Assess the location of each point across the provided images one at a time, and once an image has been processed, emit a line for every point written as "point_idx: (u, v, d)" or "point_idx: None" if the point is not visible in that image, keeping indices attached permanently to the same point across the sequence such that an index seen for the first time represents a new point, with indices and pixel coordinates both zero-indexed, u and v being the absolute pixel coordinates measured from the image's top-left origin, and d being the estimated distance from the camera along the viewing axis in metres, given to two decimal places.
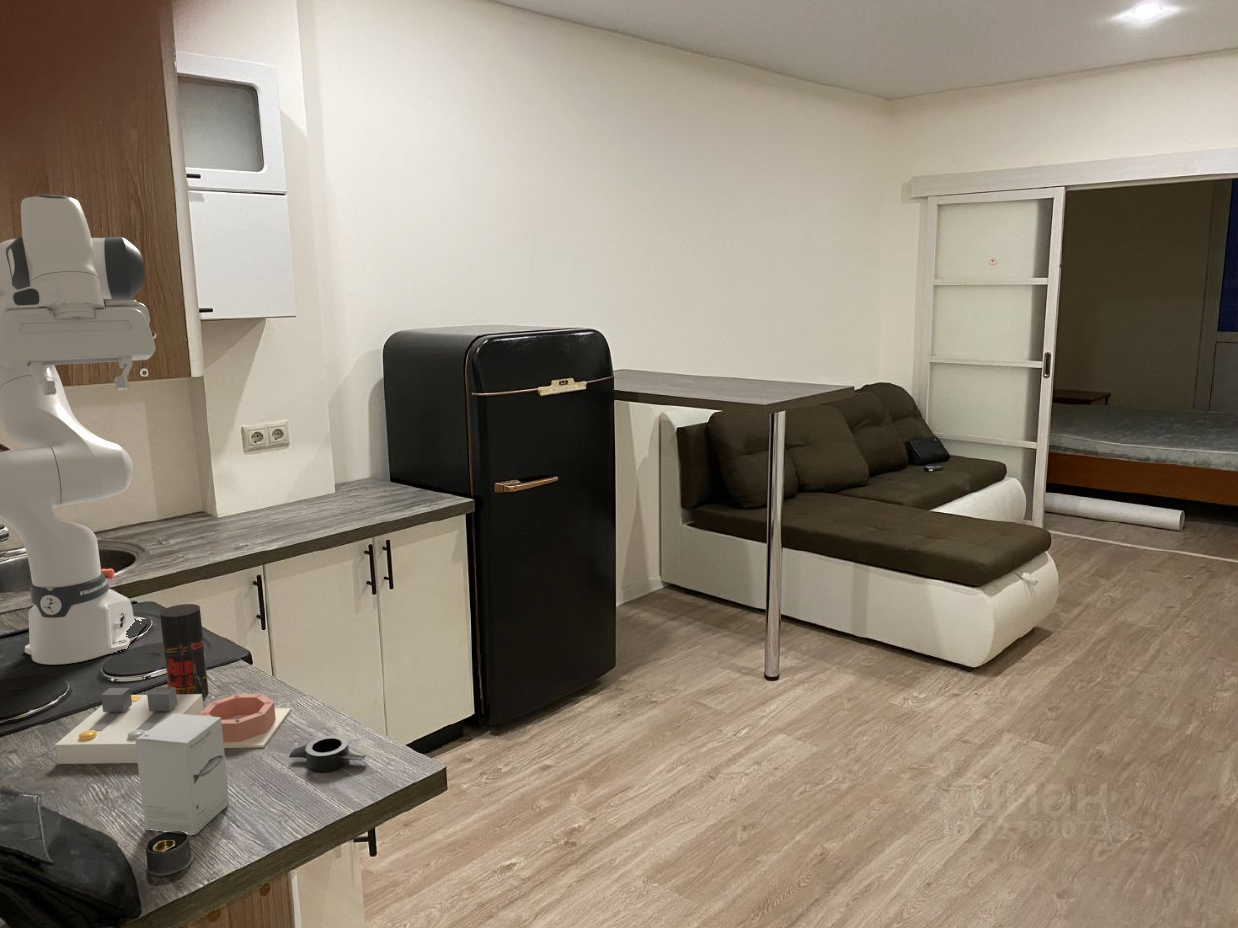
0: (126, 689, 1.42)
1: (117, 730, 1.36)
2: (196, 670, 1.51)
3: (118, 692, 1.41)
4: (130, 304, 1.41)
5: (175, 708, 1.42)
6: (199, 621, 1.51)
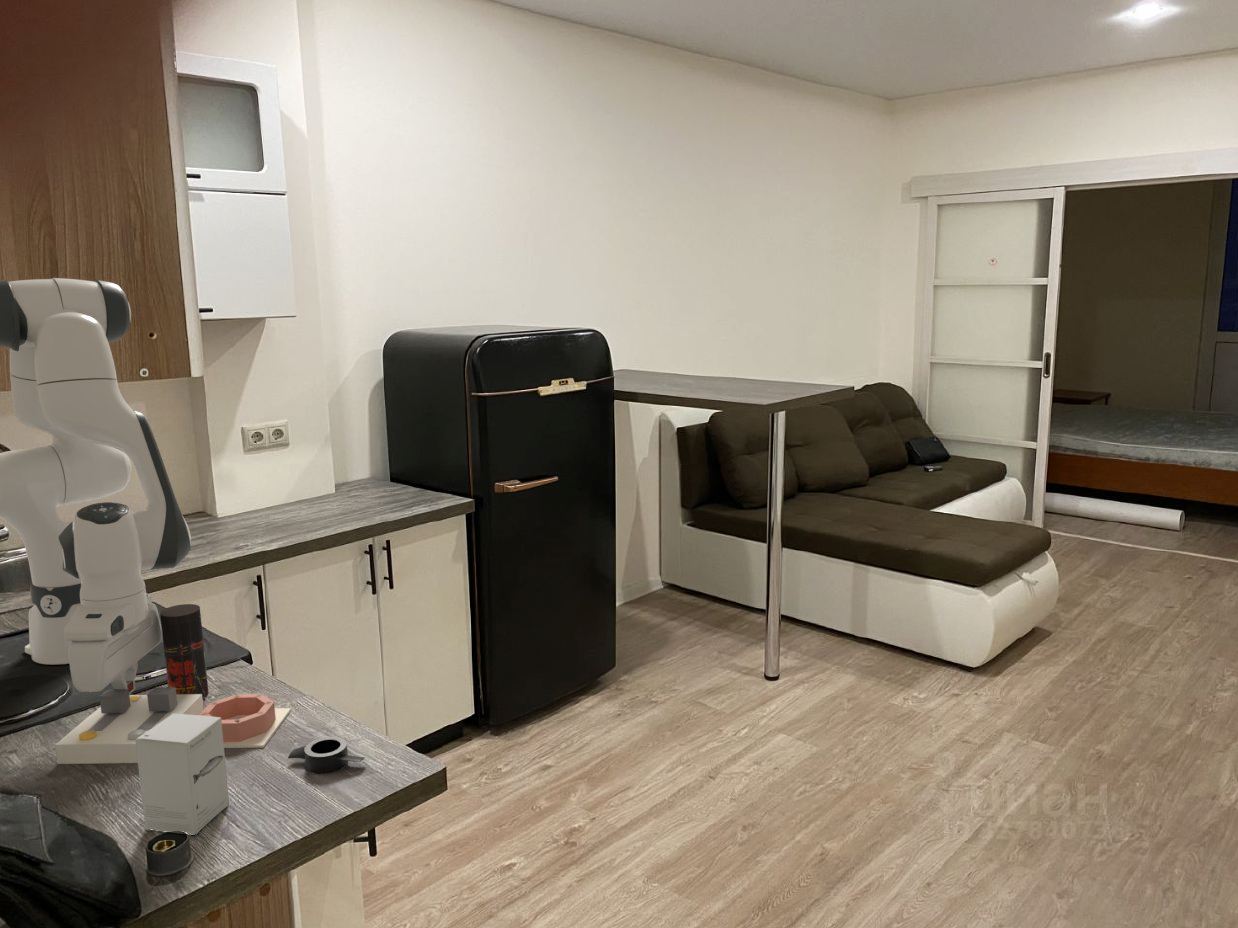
0: (124, 690, 1.41)
1: (117, 730, 1.36)
2: (196, 670, 1.51)
3: (117, 693, 1.40)
4: None
5: (175, 708, 1.42)
6: (199, 621, 1.51)
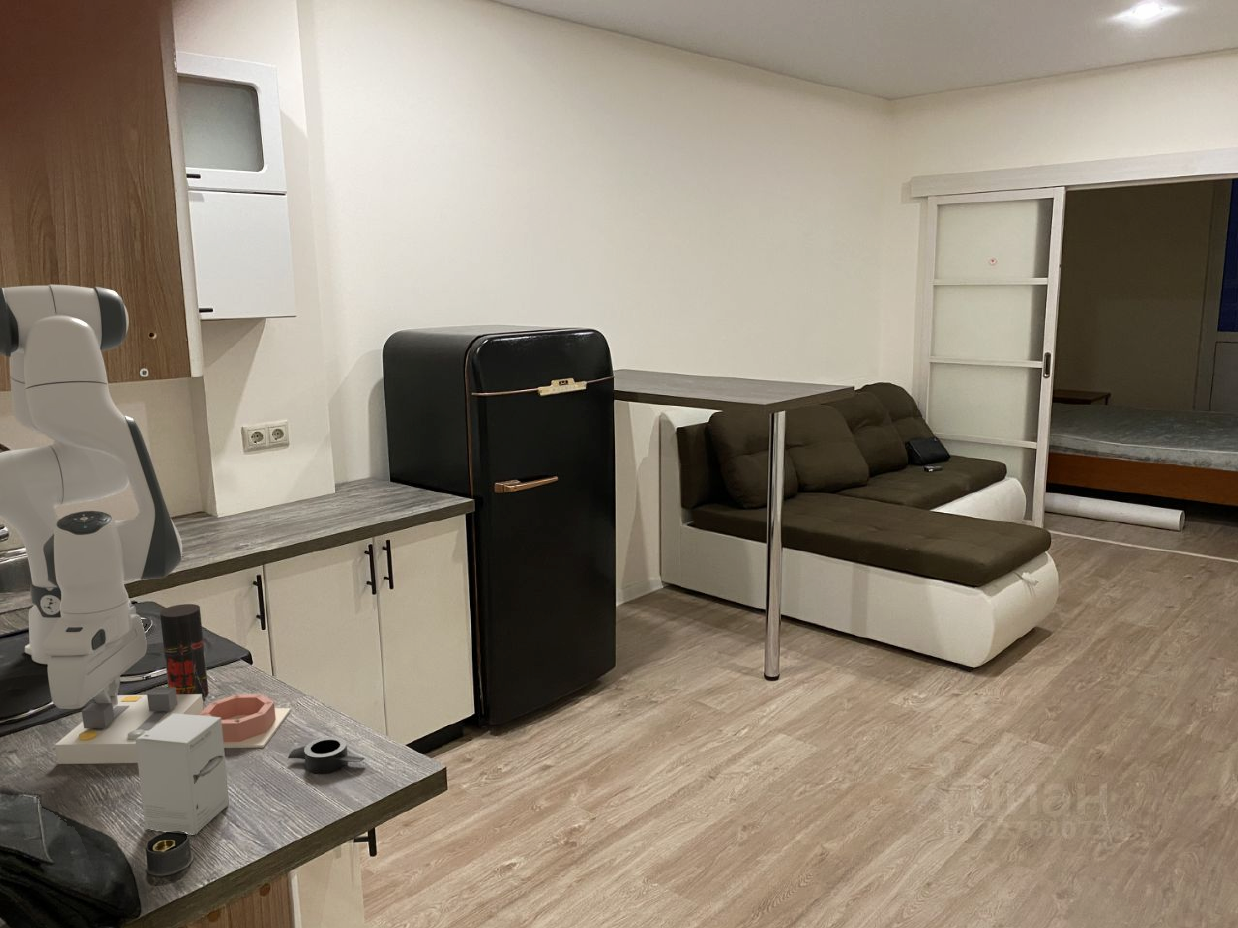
0: (108, 704, 1.37)
1: (117, 730, 1.36)
2: (196, 670, 1.51)
3: (100, 707, 1.36)
4: None
5: (175, 708, 1.42)
6: (199, 621, 1.51)
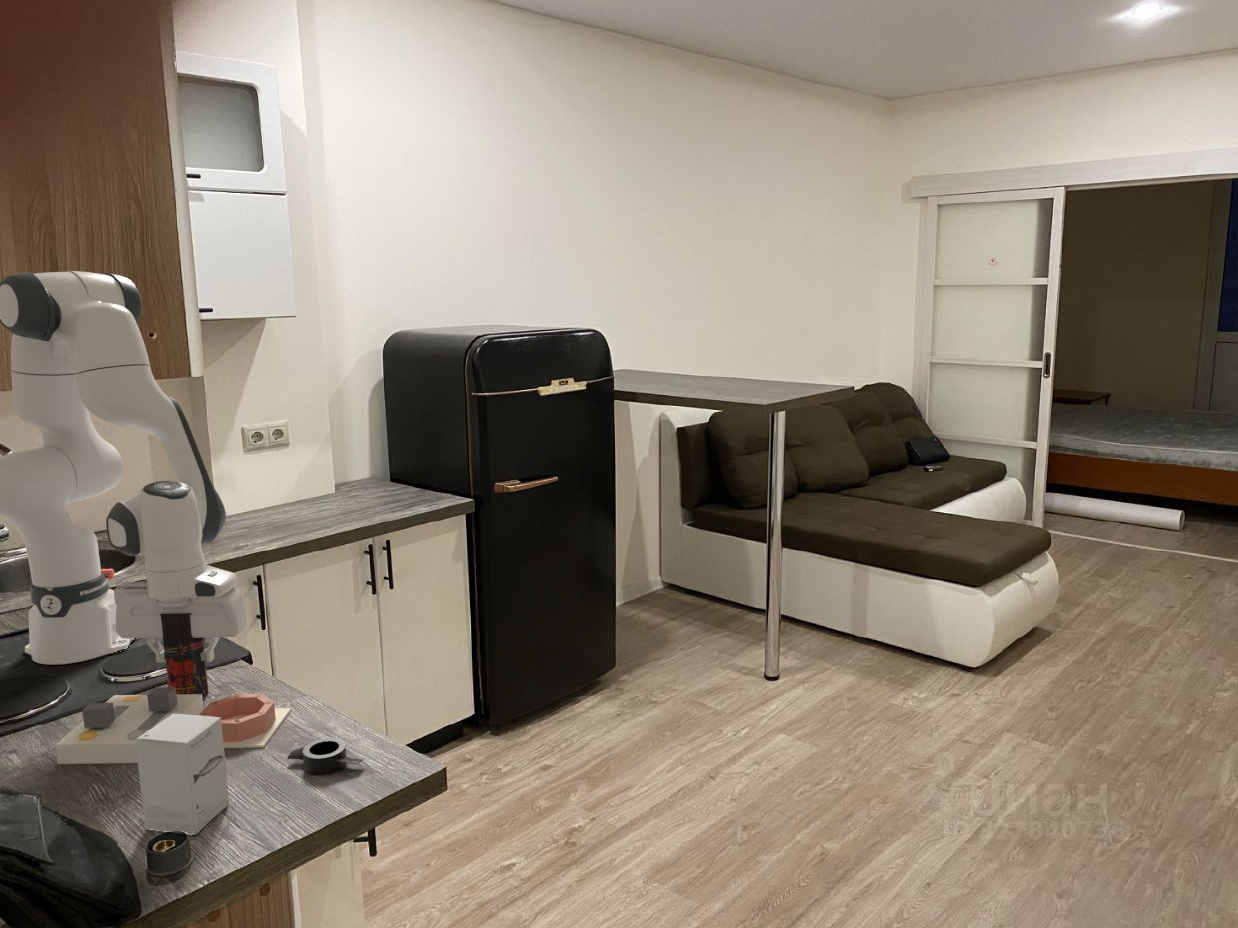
0: (108, 704, 1.37)
1: (117, 730, 1.36)
2: (196, 670, 1.51)
3: (100, 707, 1.36)
4: None
5: (175, 708, 1.42)
6: None
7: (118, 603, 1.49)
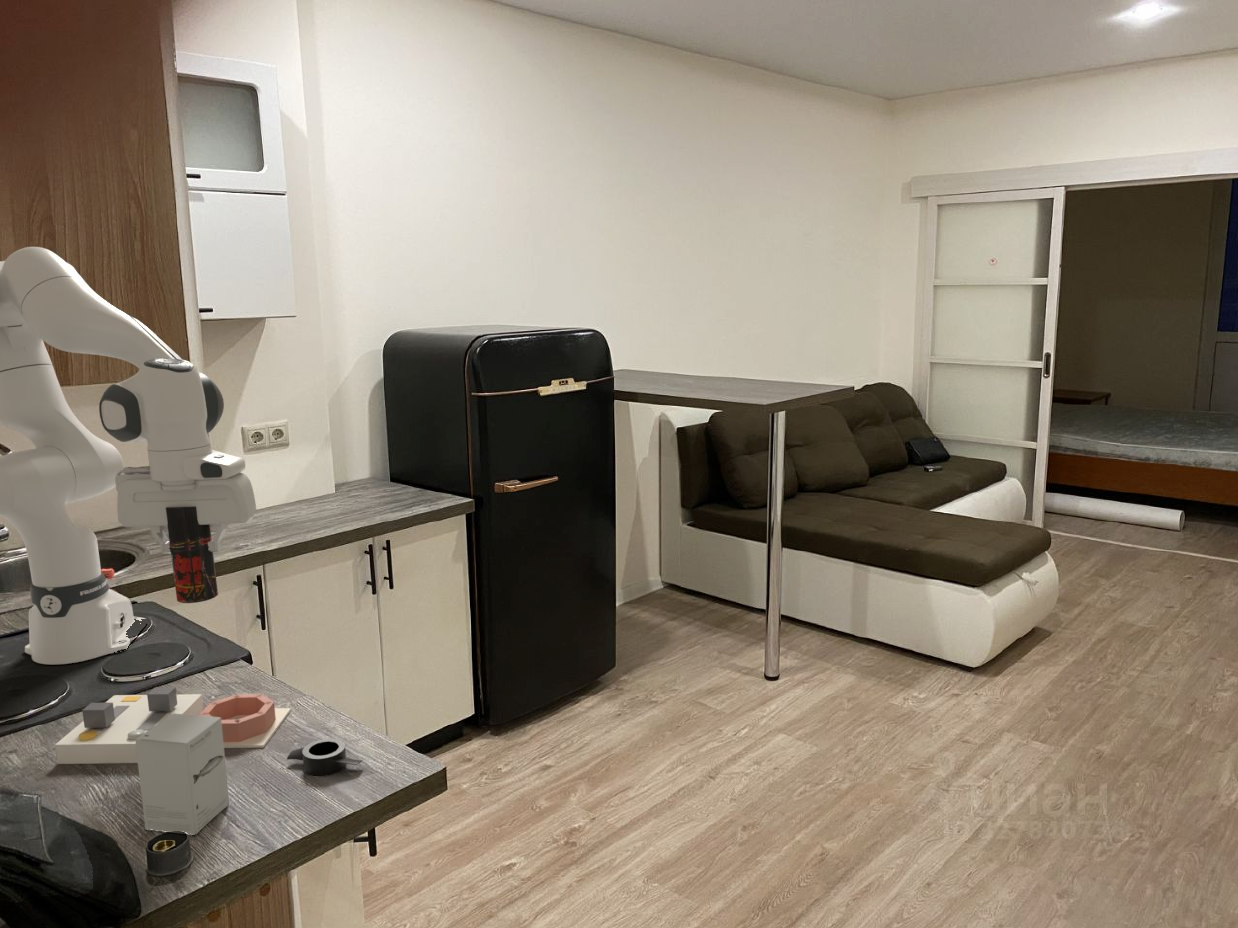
0: (108, 704, 1.37)
1: (117, 730, 1.36)
2: (205, 568, 1.43)
3: (100, 707, 1.36)
4: None
5: (175, 708, 1.42)
6: None
7: (119, 489, 1.40)
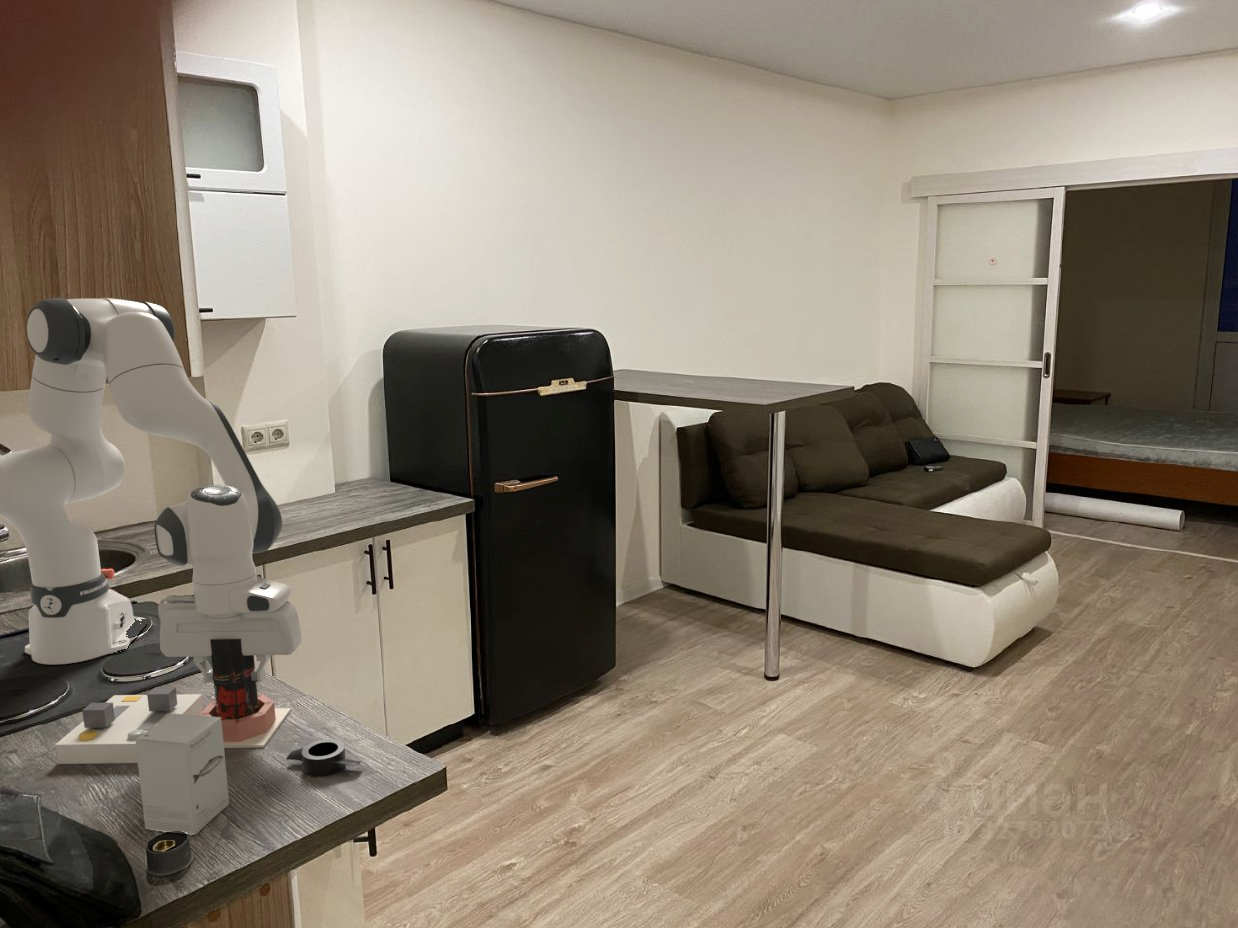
0: (108, 704, 1.37)
1: (117, 730, 1.36)
2: (249, 699, 1.40)
3: (100, 707, 1.36)
4: None
5: (175, 708, 1.42)
6: None
7: (163, 618, 1.37)
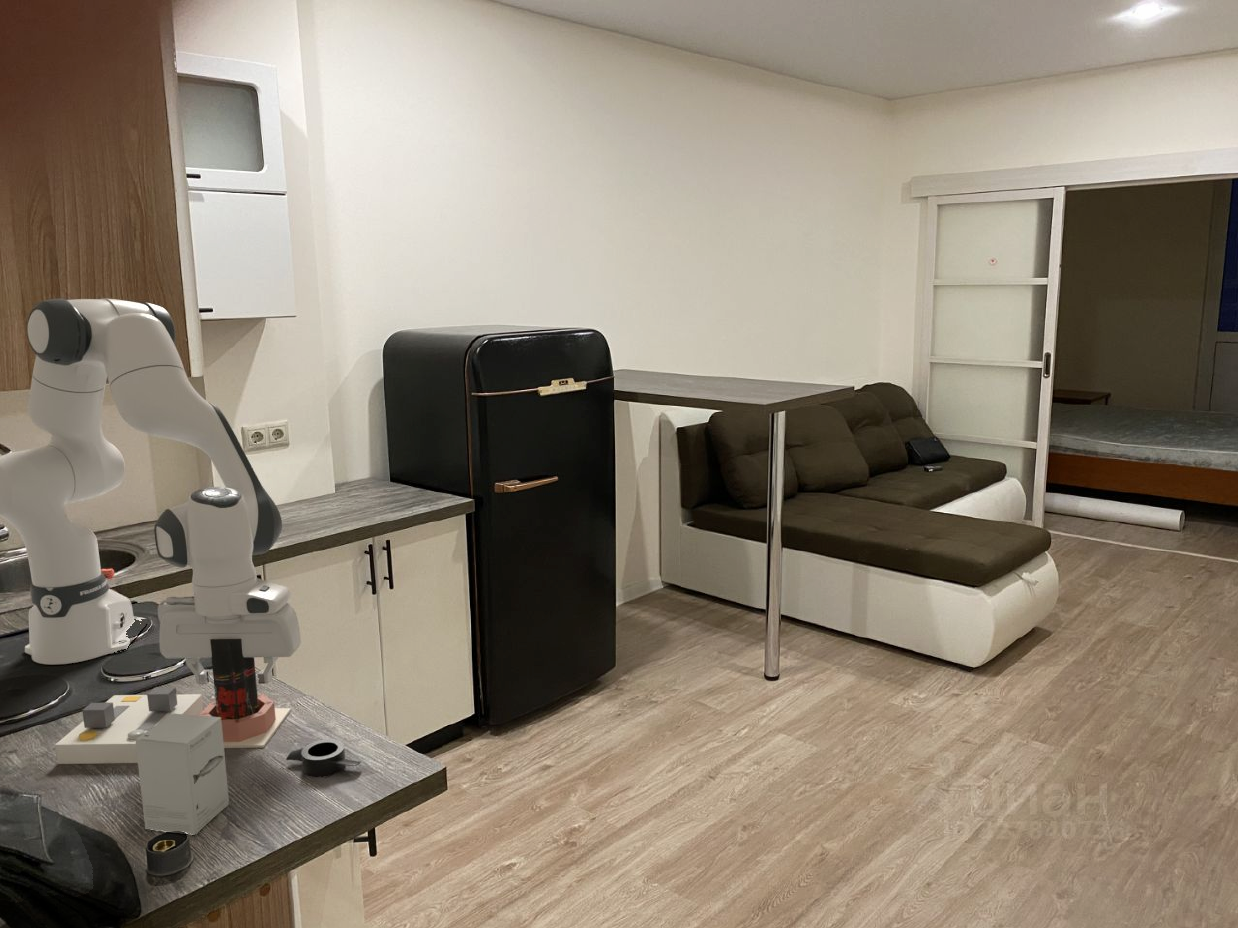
0: (108, 704, 1.37)
1: (117, 730, 1.36)
2: (249, 699, 1.40)
3: (100, 707, 1.36)
4: None
5: (175, 708, 1.42)
6: None
7: (162, 620, 1.37)
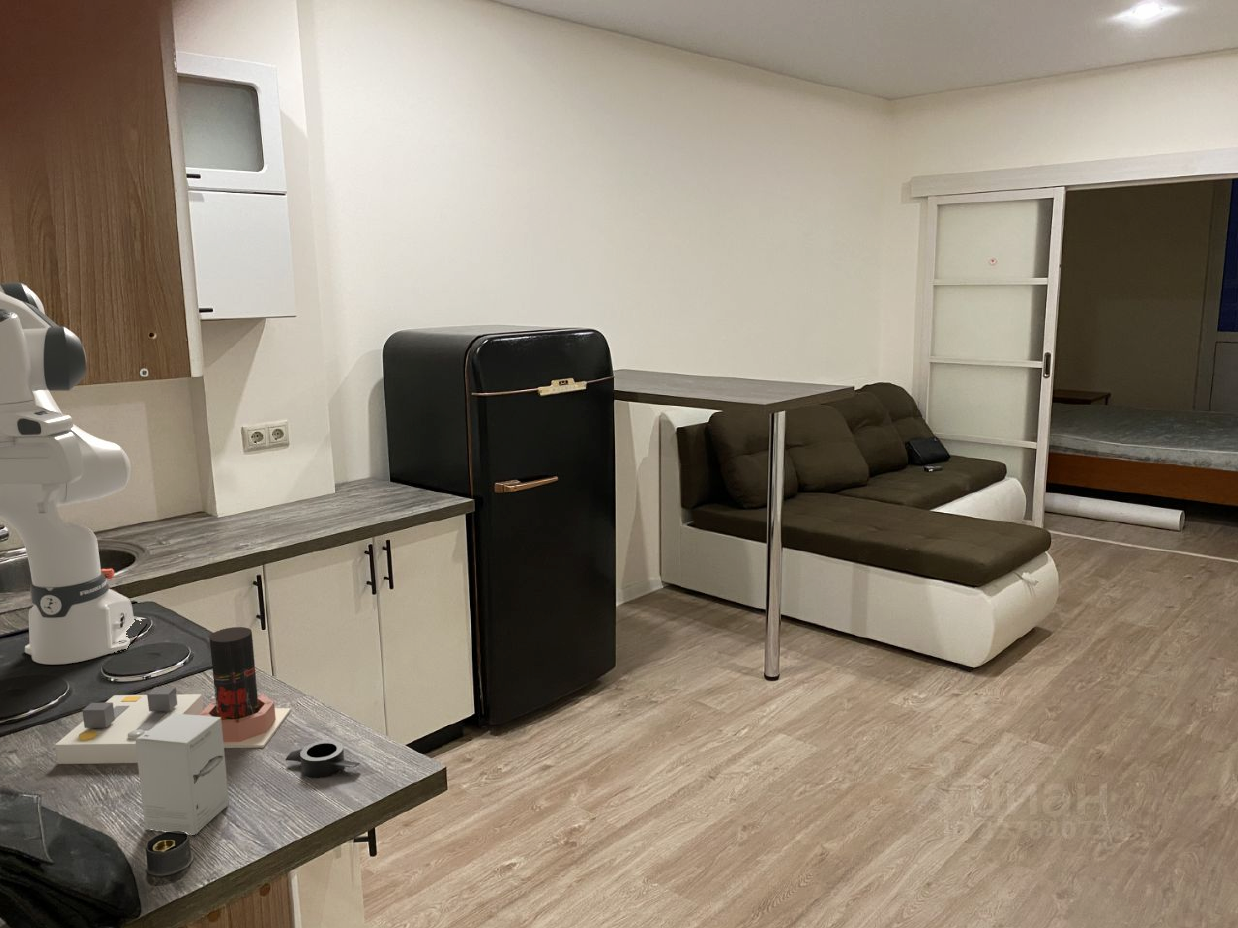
0: (108, 704, 1.37)
1: (117, 730, 1.36)
2: (249, 699, 1.40)
3: (100, 707, 1.36)
4: None
5: (175, 708, 1.42)
6: (251, 645, 1.40)
7: None
